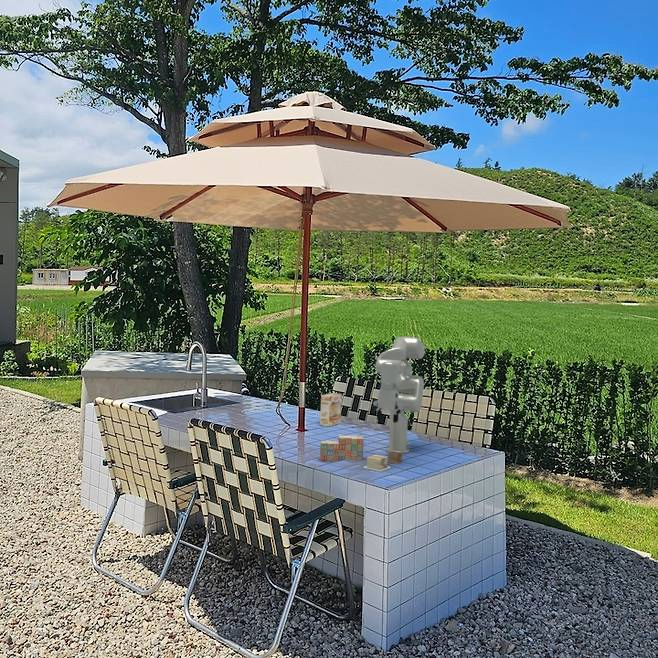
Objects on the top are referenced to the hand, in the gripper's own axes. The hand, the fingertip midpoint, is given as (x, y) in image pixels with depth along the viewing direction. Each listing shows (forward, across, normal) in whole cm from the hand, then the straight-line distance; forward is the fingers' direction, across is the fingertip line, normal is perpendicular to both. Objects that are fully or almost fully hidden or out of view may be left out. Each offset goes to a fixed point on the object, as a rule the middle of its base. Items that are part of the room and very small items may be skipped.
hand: (387, 420), depth 342 cm
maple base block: (+21, -2, +11) cm, 24 cm away
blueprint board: (+22, -2, +11) cm, 25 cm away
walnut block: (+22, -3, -4) cm, 23 cm away
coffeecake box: (+23, +82, -59) cm, 104 cm away
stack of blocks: (+22, +21, +9) cm, 32 cm away
